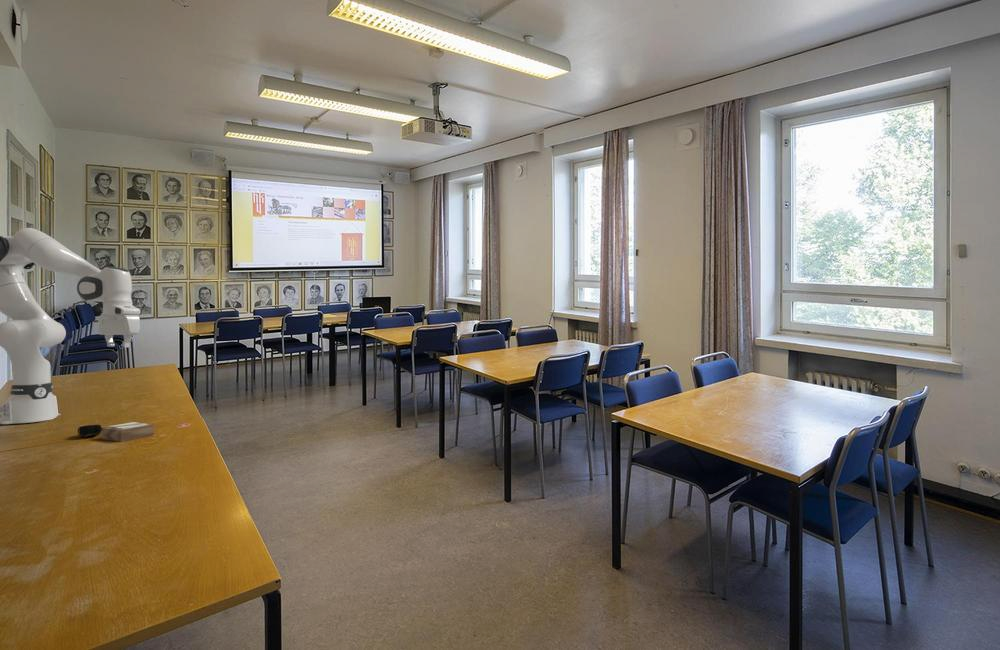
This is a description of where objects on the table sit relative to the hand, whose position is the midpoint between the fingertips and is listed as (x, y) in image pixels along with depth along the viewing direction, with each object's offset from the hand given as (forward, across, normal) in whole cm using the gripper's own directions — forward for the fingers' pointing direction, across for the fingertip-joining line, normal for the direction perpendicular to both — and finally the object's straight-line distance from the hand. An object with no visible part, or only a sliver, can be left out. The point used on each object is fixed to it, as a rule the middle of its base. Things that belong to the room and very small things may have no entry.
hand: (118, 347), depth 199 cm
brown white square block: (+31, +16, -6) cm, 35 cm away
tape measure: (+31, +6, -10) cm, 33 cm away
